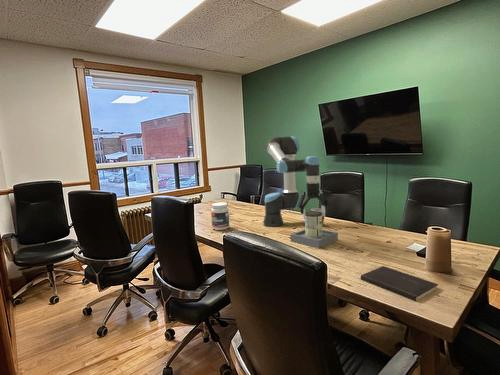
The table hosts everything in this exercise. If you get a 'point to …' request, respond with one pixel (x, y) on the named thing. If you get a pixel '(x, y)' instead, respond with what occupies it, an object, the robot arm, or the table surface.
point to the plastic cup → (318, 211)
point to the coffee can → (313, 224)
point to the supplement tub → (220, 216)
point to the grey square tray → (314, 242)
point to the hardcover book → (399, 282)
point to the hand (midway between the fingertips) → (313, 217)
